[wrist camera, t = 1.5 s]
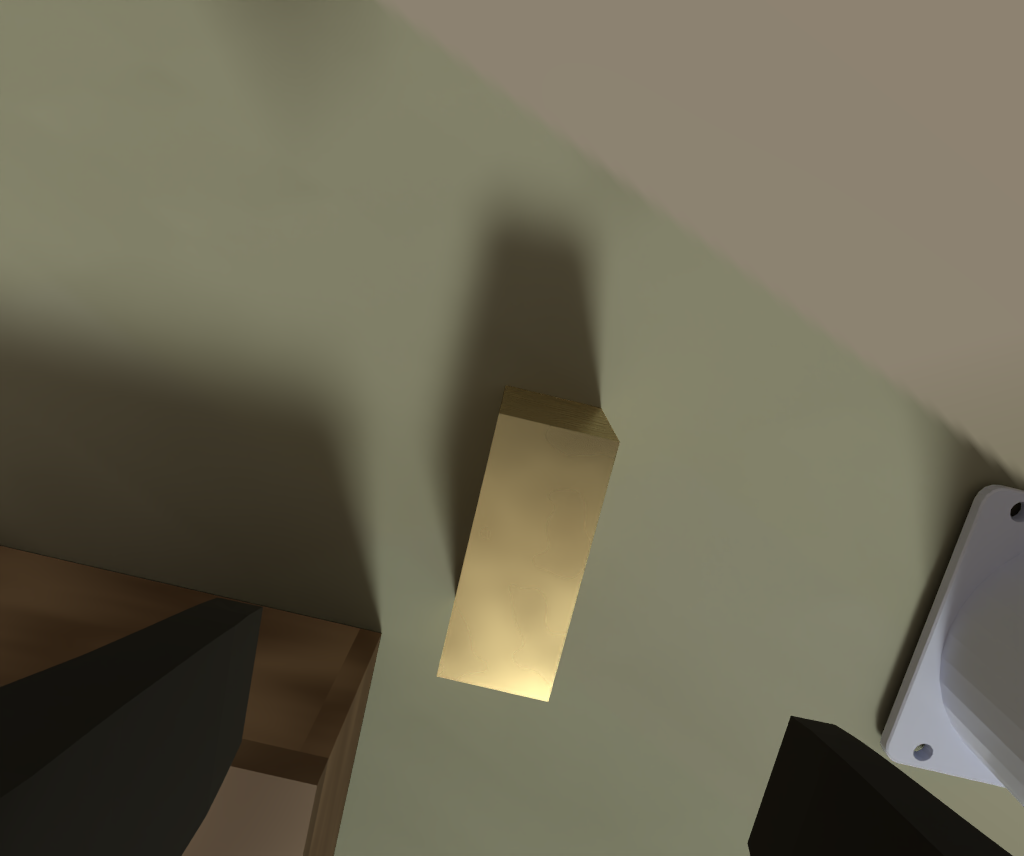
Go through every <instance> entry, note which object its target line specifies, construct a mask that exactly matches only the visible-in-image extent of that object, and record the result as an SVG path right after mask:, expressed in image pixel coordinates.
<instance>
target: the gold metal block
mask: <svg viewBox="0 0 1024 856" xmlns="http://www.w3.org/2000/svg"><path fill="white" fill-rule="evenodd" d="M619 443H620V442H619V440H618V438H617V436H616V434H615V433H614V431H613V429H612V427H611V425H610V423H609V422H608V420H607V418H606V416H605V414H604V412H603V411H602V409H601V408H599V407H595V406H591V405H587V404H582V403H578V402H574V401H570V400H566V399H561V398H557V397H553V396H549V395H545V394H540V393H536V392H532V391H528V390H524V389H520V388H515V387H511V386H507V385H506V387H505V391H504V395H503V399H502V403H501V407H500V411H499V416H498V420H497V424H496V428H495V433H494V437H493V441H492V445H491V449H490V454H489V458H488V462H487V466H486V470H485V475H484V479H483V483H482V487H481V492H480V496H479V500H478V504H477V508H476V513H475V517H474V521H473V525H472V530H471V534H470V538H469V542H468V546H467V551H466V555H465V559H464V563H463V567H462V572H461V576H460V580H459V584H458V589H457V593H456V597H455V601H454V605H453V610H452V614H451V618H450V622H449V626H448V631H447V635H446V639H445V643H444V648H443V652H442V656H441V660H440V664H439V669H438V673H437V676H438V677H442V678H447V679H451V680H455V681H460V682H464V683H469V684H473V685H477V686H482V687H486V688H490V689H495V690H499V691H504V692H508V693H512V694H517V695H521V696H525V697H530V698H534V699H539V700H543V701H547V702H548V700H549V696H550V693H551V689H552V686H553V682H554V678H555V675H556V671H557V667H558V664H559V660H560V657H561V653H562V649H563V646H564V642H565V638H566V635H567V631H568V628H569V624H570V620H571V617H572V613H573V610H574V606H575V602H576V599H577V595H578V591H579V588H580V584H581V581H582V577H583V573H584V570H585V566H586V562H587V559H588V555H589V552H590V548H591V544H592V541H593V537H594V533H595V530H596V526H597V523H598V519H599V515H600V512H601V508H602V504H603V501H604V497H605V494H606V490H607V486H608V483H609V479H610V475H611V472H612V468H613V465H614V461H615V457H616V454H617V450H618V446H619Z"/></svg>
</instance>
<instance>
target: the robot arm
mask: <svg viewBox="0 0 1024 856" xmlns="http://www.w3.org/2000/svg"><path fill="white" fill-rule="evenodd" d="M1019 502H1020V503H1021V510H1020V511H1019V512H1018V514H1017V515H1015V516H1013V517H1011V516H1010V512H1011V509H1012V507H1013V506H1014V505H1015V504H1017V503H1019ZM262 611H263V607H261V606H257V605H252V604H247V603H242V602H237V601H232V600H227V599H223V598H218V597H217V598H214V599H211V600H209V601H206V602H203V603H201V604H198V605H196V606H194V607H191V608H189V609H186V610H184V611H182V612H180V613H177V614H175V615H173V616H171V617H168V618H166V619H164V620H162V621H159V622H157V623H155V624H153V625H150V626H148V627H146V628H144V629H141V630H139V631H137V632H134V633H132V634H130V635H128V636H125V637H123V638H121V639H118V640H116V641H114V642H111V643H109V644H107V645H105V646H102V647H100V648H98V649H95V650H93V651H91V652H88V653H86V654H84V655H81V656H79V657H76V658H74V659H71V660H68V661H66V662H63V663H61V664H58V665H56V666H53V667H50V668H48V669H45V670H43V671H40V672H37V673H35V674H32V675H30V676H27V677H25V678H22V679H19V680H17V681H14V682H12V683H9V684H7V685H4V686H1V687H0V856H182V854H183V853H184V851H185V849H186V848H187V846H188V845H189V843H190V841H191V840H192V838H193V837H194V835H195V833H196V832H197V830H198V828H199V827H200V825H201V824H202V822H203V820H204V819H205V817H206V815H207V813H208V811H209V809H210V807H211V805H212V803H213V801H214V799H215V797H216V795H217V793H218V791H219V789H220V787H221V785H222V783H223V781H224V779H225V777H226V774H227V772H228V770H229V768H230V766H231V764H232V762H233V759H234V757H235V755H236V753H237V751H238V749H239V747H240V744H241V742H242V736H243V730H244V724H245V718H246V711H247V705H248V699H249V693H250V686H251V680H252V674H253V667H254V661H255V655H256V649H257V642H258V636H259V630H260V624H261V617H262ZM880 743H881V746H882V749H883V750H884V752H885V753H886V754H887V756H888V757H889V758H890V759H891V760H892V761H895V762H897V763H900V764H905V765H909V766H913V767H918V768H922V769H927V770H931V771H935V772H940V773H944V774H948V775H953V776H957V777H961V778H966V779H970V780H974V781H979V782H983V783H988V784H992V785H996V786H1001V787H1005V788H1007V789H1008V790H1009V792H1010V793H1011V794H1012V795H1013V796H1014V797H1015V798H1016V799H1017V800H1018V801H1019V802H1020V803H1021V804H1022V805H1023V807H1024V490H1020V489H1015V488H1011V487H1007V486H1003V485H990V486H987V487H984V488H983V489H982V490H980V491H979V492H978V493H977V495H976V497H975V498H974V500H973V503H972V506H971V508H970V511H969V513H968V516H967V518H966V521H965V523H964V526H963V529H962V531H961V534H960V536H959V539H958V541H957V544H956V546H955V549H954V552H953V554H952V557H951V559H950V562H949V564H948V567H947V569H946V572H945V575H944V577H943V580H942V582H941V585H940V587H939V590H938V592H937V595H936V598H935V600H934V603H933V605H932V608H931V610H930V613H929V615H928V618H927V621H926V623H925V626H924V628H923V631H922V633H921V636H920V639H919V641H918V644H917V646H916V649H915V651H914V654H913V656H912V659H911V662H910V664H909V667H908V669H907V672H906V674H905V677H904V679H903V682H902V685H901V687H900V690H899V692H898V695H897V697H896V700H895V702H894V705H893V708H892V710H891V713H890V715H889V718H888V720H887V723H886V725H885V728H884V731H883V733H882V736H881V741H880ZM920 744H925V746H924V747H923V748H922V749H921V750H919V751H914V749H915V748H916V746H918V745H920ZM748 847H749V852H750V856H1012V855H1011V854H1010V853H1008V852H1007V851H1006V850H1004V849H1003V848H1002V847H1000V846H999V845H998V844H996V843H995V842H994V841H992V840H991V839H990V838H988V837H987V836H986V835H984V834H983V833H982V832H980V831H979V830H978V829H976V828H975V827H974V826H972V825H971V824H970V823H969V822H967V821H966V820H965V819H963V818H962V817H961V816H959V815H958V814H957V813H955V812H954V811H953V810H952V809H950V808H949V807H948V806H946V805H945V804H944V803H942V802H941V801H940V800H939V799H937V798H936V797H935V796H933V795H932V794H931V793H929V792H928V791H927V790H926V789H924V788H923V787H922V786H920V785H919V784H918V783H916V782H915V781H914V780H912V779H911V778H910V777H909V776H907V775H906V774H905V773H903V772H902V771H901V770H899V769H898V768H897V767H895V766H894V765H893V764H891V763H890V762H889V761H887V760H886V759H885V758H883V757H882V756H881V755H879V754H878V753H876V752H875V751H874V750H872V749H871V748H870V747H868V746H867V745H865V744H864V743H862V742H861V741H860V740H858V739H857V738H855V737H854V736H852V735H851V734H849V733H847V732H846V731H844V730H843V729H841V728H839V727H838V726H836V725H833V724H829V723H824V722H819V721H814V720H809V719H804V718H799V717H795V716H791V717H790V720H789V723H788V726H787V729H786V732H785V735H784V738H783V741H782V744H781V746H780V749H779V752H778V755H777V758H776V761H775V764H774V767H773V770H772V773H771V776H770V779H769V782H768V785H767V787H766V790H765V793H764V796H763V799H762V802H761V805H760V808H759V811H758V814H757V817H756V820H755V823H754V826H753V828H752V831H751V834H750V837H749V840H748Z"/></svg>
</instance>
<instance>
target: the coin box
mask: <svg viewBox="0 0 1024 856" xmlns="http://www.w3.org/2000/svg"><path fill="white" fill-rule="evenodd" d="M217 597H218V598H223V599H227V600H232V601H237V602H242V603H247V602H243V601H238V600H234V599H230V598H225V597H221V596H217V595H212V594H208V593H204V592H199V591H195V590H191V589H186V588H182V587H178V586H173V585H169V584H165V583H160V582H156V581H152V580H147V579H143V578H138V577H134V576H130V575H125V574H121V573H117V572H112V571H108V570H104V569H99V568H95V567H91V566H86V565H82V564H78V563H73V562H69V561H65V560H60V559H56V558H51V557H47V556H43V555H38V554H34V553H30V552H25V551H21V550H17V549H12V548H8V547H4V546H0V687H1V686H4V685H7V684H9V683H12V682H14V681H17V680H19V679H22V678H25V677H27V676H30V675H32V674H35V673H37V672H40V671H43V670H45V669H48V668H50V667H53V666H56V665H58V664H61V663H63V662H66V661H68V660H71V659H74V658H76V657H79V656H81V655H84V654H86V653H88V652H91V651H93V650H95V649H98V648H100V647H102V646H105V645H107V644H109V643H111V642H114V641H116V640H118V639H121V638H123V637H125V636H128V635H130V634H132V633H134V632H137V631H139V630H141V629H144V628H146V627H148V626H150V625H153V624H155V623H157V622H159V621H162V620H164V619H166V618H168V617H171V616H173V615H175V614H177V613H180V612H182V611H184V610H186V609H189V608H191V607H194V606H196V605H198V604H201V603H203V602H206V601H209V600H211V599H214V598H217ZM247 604H252V603H247ZM252 605H256V604H252ZM257 606H260V605H257ZM261 607H263V611H262V617H261V624H260V630H259V636H258V642H257V649H256V655H255V661H254V667H253V674H252V680H251V686H250V693H249V699H248V705H247V711H246V718H245V724H244V730H243V736H242V742H241V744H240V747H239V749H238V751H237V753H236V755H235V757H234V759H233V762H232V764H231V766H230V768H229V770H228V772H227V774H226V777H225V779H224V781H223V783H222V785H221V787H220V789H219V791H218V793H217V795H216V797H215V799H214V801H213V803H212V805H211V807H210V809H209V811H208V813H207V815H206V817H205V819H204V820H203V822H202V824H201V825H200V827H199V828H198V830H197V832H196V833H195V835H194V837H193V838H192V840H191V841H190V843H189V845H188V846H187V848H186V849H185V851H184V853H183V854H182V856H334V851H335V847H336V842H337V838H338V833H339V828H340V824H341V819H342V814H343V810H344V805H345V801H346V796H347V791H348V787H349V782H350V777H351V773H352V768H353V763H354V759H355V754H356V750H357V745H358V740H359V736H360V731H361V726H362V722H363V717H364V712H365V708H366V703H367V699H368V694H369V689H370V685H371V680H372V675H373V671H374V666H375V662H376V657H377V652H378V648H379V643H380V638H381V634H382V633H378V632H373V631H369V630H365V629H360V628H356V627H352V626H347V625H343V624H339V623H334V622H330V621H325V620H321V619H317V618H312V617H308V616H304V615H299V614H295V613H291V612H286V611H282V610H278V609H273V608H269V607H265V606H261Z"/></svg>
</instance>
